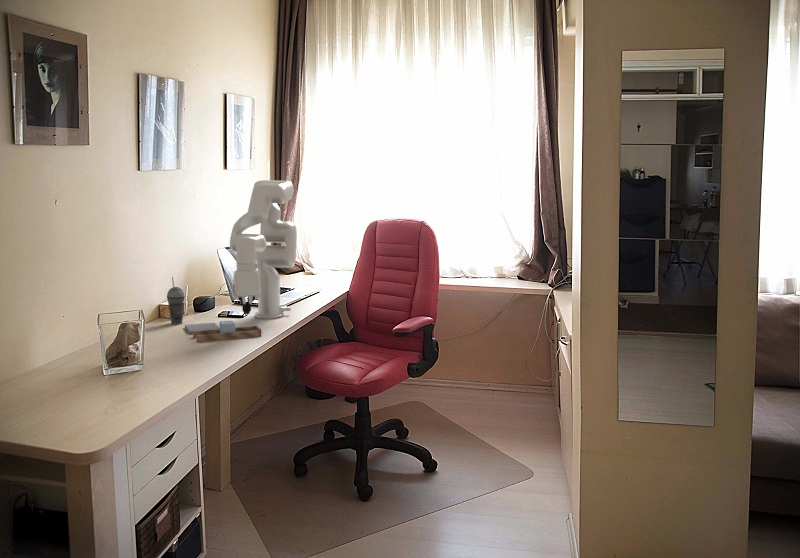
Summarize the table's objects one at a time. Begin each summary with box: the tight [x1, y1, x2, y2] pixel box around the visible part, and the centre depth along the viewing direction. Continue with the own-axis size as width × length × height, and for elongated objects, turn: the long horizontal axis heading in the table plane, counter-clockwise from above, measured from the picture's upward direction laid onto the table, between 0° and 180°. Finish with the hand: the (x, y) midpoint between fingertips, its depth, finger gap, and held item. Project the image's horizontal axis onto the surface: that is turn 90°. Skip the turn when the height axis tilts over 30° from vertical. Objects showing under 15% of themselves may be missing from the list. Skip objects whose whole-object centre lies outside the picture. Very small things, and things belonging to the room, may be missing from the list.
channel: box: [192, 324, 262, 343], centre depth 284 cm, size 25×8×3 cm, turn 115°
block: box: [219, 320, 236, 333], centre depth 284 cm, size 5×5×6 cm
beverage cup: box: [166, 276, 186, 326], centre depth 303 cm, size 7×7×20 cm
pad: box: [184, 322, 220, 335], centre depth 295 cm, size 12×12×1 cm
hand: (246, 313), depth 286 cm, fingers closed
